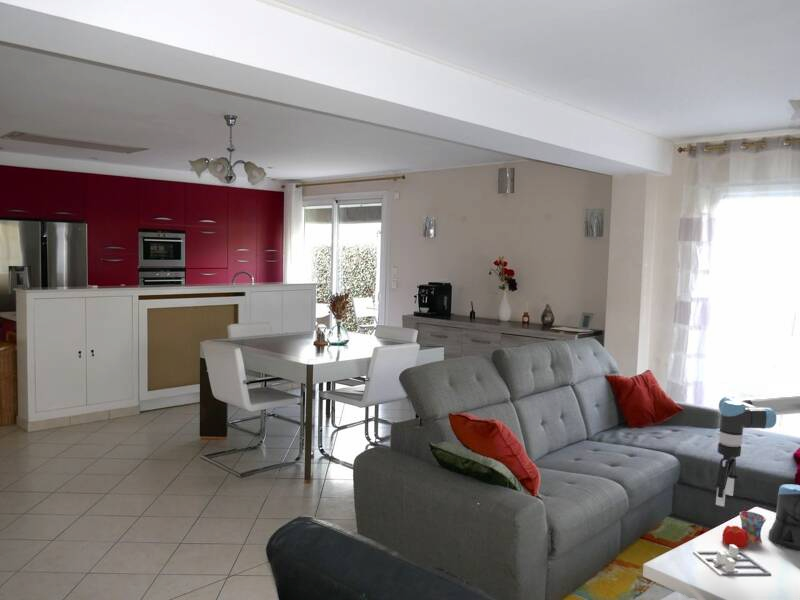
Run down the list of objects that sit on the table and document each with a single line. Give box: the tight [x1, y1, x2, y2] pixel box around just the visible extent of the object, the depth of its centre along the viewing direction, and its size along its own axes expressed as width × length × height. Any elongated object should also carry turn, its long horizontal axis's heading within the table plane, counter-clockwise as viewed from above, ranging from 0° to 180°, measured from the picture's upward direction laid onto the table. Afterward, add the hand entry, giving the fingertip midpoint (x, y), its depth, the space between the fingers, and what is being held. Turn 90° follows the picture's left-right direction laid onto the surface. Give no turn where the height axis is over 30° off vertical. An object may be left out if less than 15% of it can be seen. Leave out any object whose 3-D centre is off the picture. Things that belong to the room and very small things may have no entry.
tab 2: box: [724, 544, 742, 558], centre depth 236 cm, size 4×3×4 cm
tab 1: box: [712, 550, 727, 565], centre depth 230 cm, size 4×3×4 cm
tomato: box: [721, 525, 750, 549], centre depth 247 cm, size 9×9×8 cm
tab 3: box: [720, 557, 739, 573], centre depth 225 cm, size 4×3×4 cm
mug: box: [738, 510, 767, 544], centre depth 254 cm, size 12×9×11 cm
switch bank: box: [692, 550, 772, 577], centre depth 230 cm, size 20×16×2 cm
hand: (724, 500), depth 234 cm, fingers open, 13 cm apart
